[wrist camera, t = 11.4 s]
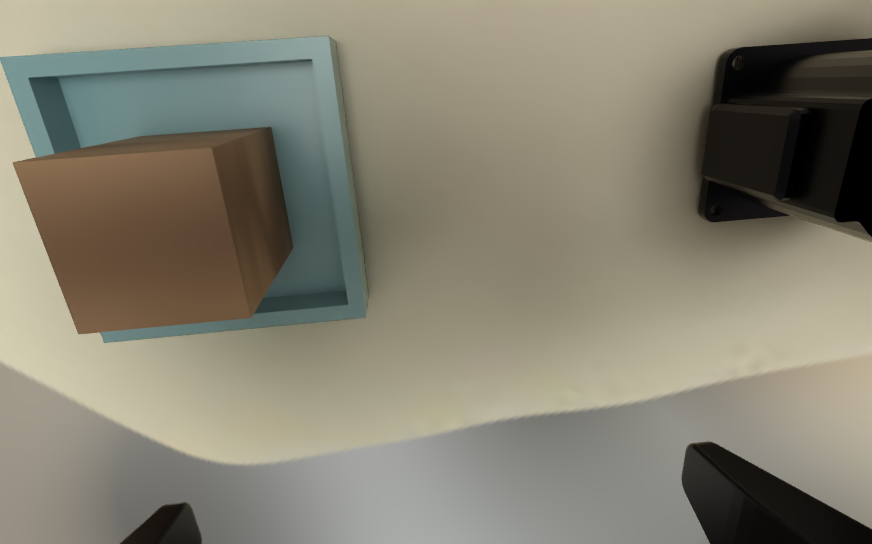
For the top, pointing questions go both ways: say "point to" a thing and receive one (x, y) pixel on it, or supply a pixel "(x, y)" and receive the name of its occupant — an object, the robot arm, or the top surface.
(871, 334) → the top surface
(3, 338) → the top surface
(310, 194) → the teal tray
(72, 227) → the walnut block
